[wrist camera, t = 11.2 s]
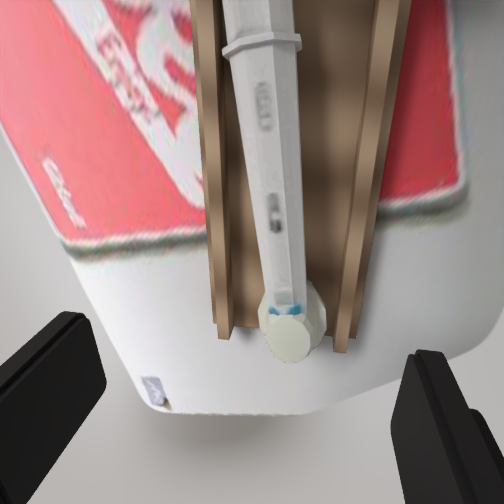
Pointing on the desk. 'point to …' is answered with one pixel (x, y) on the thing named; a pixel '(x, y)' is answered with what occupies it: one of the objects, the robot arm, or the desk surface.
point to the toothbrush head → (274, 168)
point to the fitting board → (303, 154)
